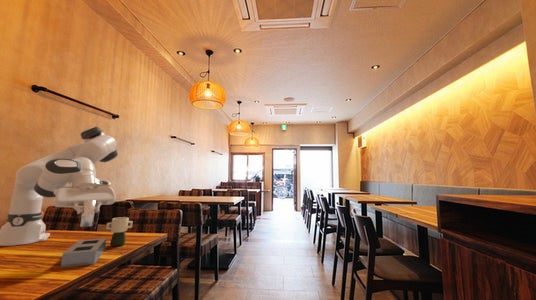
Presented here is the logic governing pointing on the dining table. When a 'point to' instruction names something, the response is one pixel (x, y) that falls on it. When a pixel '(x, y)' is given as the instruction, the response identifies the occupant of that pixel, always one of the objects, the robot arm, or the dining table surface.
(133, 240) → the dining table surface
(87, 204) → the steel pin
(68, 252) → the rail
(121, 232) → the character mug
